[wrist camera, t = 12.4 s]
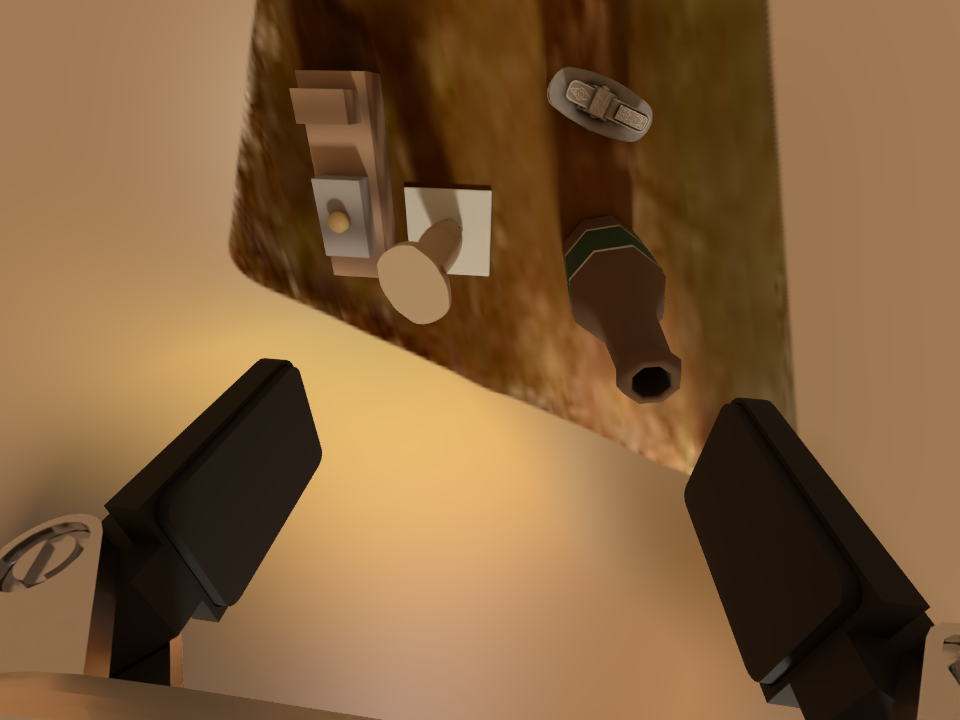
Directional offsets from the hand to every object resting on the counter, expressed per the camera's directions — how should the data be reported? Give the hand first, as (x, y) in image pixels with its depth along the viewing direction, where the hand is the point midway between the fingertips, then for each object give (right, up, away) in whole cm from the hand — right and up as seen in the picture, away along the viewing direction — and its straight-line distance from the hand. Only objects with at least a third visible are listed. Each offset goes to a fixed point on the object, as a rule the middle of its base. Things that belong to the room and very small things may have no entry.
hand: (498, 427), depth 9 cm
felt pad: (-4, +15, +34) cm, 38 cm away
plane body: (-13, +20, +32) cm, 40 cm away
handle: (-4, +15, +34) cm, 37 cm away
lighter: (+9, +24, +27) cm, 37 cm away
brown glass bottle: (+12, +13, +33) cm, 38 cm away
